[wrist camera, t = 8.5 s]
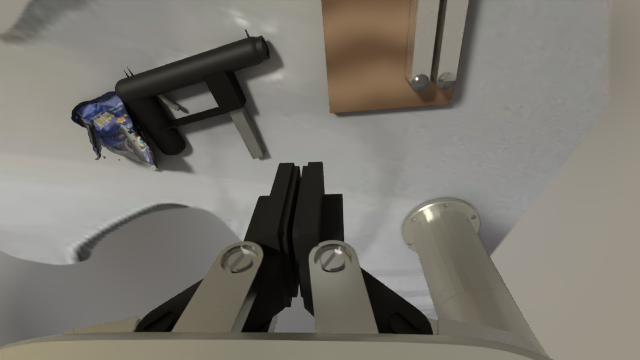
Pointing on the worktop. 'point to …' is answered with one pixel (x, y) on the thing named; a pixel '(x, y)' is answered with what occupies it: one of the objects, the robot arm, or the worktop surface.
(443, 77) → the arm
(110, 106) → the snack package
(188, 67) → the black submachine gun
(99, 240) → the worktop surface
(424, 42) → the tongs arm
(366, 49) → the cutting board
